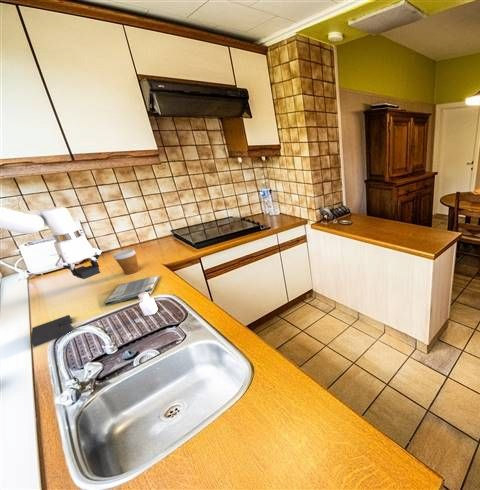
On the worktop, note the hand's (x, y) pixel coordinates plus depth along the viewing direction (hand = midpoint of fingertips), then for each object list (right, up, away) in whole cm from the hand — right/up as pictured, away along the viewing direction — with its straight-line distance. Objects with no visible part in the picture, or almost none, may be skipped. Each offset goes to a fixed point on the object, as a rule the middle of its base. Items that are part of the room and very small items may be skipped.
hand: (87, 272), depth 120 cm
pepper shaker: (+35, -17, -8) cm, 40 cm away
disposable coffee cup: (-5, -3, +29) cm, 29 cm away
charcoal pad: (+6, -22, -17) cm, 28 cm away
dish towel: (+14, -10, +9) cm, 19 cm away
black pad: (-1, -1, +1) cm, 2 cm away
